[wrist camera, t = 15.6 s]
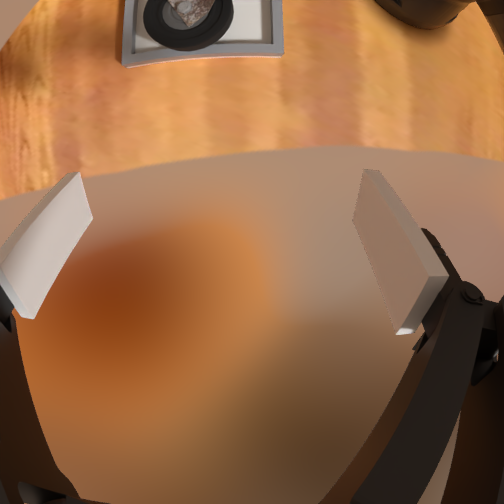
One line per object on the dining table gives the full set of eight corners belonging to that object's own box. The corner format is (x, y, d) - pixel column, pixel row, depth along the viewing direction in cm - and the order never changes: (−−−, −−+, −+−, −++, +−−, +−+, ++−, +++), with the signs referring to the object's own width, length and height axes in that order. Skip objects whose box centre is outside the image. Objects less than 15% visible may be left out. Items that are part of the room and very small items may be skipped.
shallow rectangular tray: (276, -42, 20) (278, -50, 18) (280, 57, 26) (283, 53, 24) (135, -32, 19) (130, -39, 17) (127, 68, 25) (121, 65, 23)
